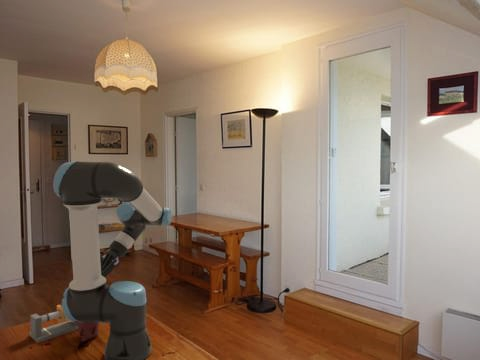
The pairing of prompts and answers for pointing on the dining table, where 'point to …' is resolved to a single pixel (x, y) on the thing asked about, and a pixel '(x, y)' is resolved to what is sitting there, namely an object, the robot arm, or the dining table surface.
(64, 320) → the orange flat plate
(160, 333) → the dining table surface
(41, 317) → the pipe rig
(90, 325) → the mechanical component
